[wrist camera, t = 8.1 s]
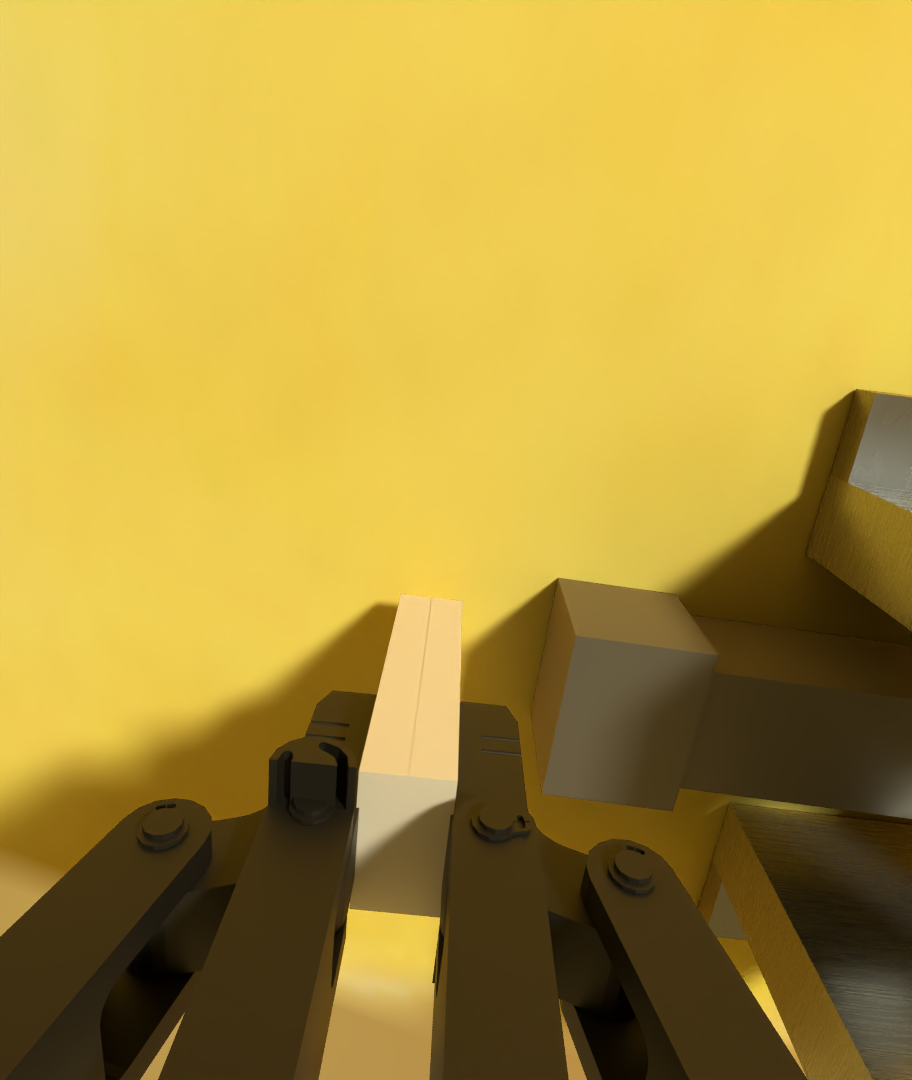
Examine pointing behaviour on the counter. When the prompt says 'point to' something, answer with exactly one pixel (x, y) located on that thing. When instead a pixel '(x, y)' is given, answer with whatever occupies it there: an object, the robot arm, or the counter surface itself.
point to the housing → (834, 841)
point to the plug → (716, 707)
